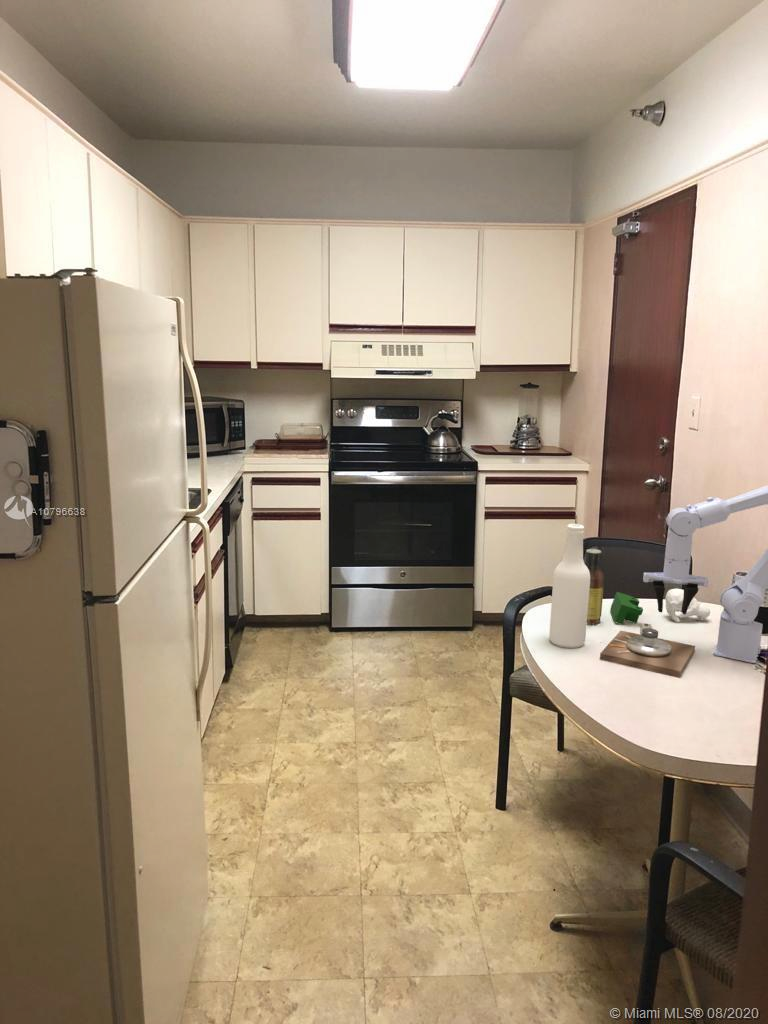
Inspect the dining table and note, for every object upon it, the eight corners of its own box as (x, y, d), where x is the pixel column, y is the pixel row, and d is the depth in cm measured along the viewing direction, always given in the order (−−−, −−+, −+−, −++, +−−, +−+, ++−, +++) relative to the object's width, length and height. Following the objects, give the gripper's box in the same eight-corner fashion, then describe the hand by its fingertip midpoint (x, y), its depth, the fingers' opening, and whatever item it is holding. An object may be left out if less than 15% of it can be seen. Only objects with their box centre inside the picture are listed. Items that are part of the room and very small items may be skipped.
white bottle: (553, 648, 183) (562, 529, 176) (545, 635, 191) (553, 521, 185) (589, 649, 183) (599, 529, 177) (579, 635, 192) (588, 521, 185)
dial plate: (694, 651, 183) (695, 645, 182) (679, 677, 168) (680, 670, 167) (620, 635, 192) (620, 629, 192) (599, 659, 177) (600, 652, 177)
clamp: (631, 639, 202) (644, 615, 196) (609, 632, 203) (621, 608, 197) (631, 610, 211) (643, 586, 206) (610, 603, 212) (622, 580, 207)
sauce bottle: (582, 615, 206) (588, 545, 202) (604, 620, 203) (610, 550, 198) (572, 621, 202) (577, 550, 197) (594, 627, 198) (600, 554, 194)
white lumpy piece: (665, 584, 207) (709, 590, 206) (659, 613, 209) (703, 619, 208) (671, 591, 201) (717, 598, 200) (665, 621, 202) (710, 628, 202)
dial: (674, 658, 174) (676, 640, 173) (629, 654, 176) (630, 636, 175) (665, 638, 186) (667, 621, 185) (623, 634, 188) (625, 617, 187)
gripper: (648, 560, 177) (642, 614, 180) (713, 565, 174) (706, 620, 177) (644, 552, 184) (639, 605, 187) (707, 557, 181) (700, 610, 184)
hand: (671, 612), depth 183 cm, fingers open, 5 cm apart
